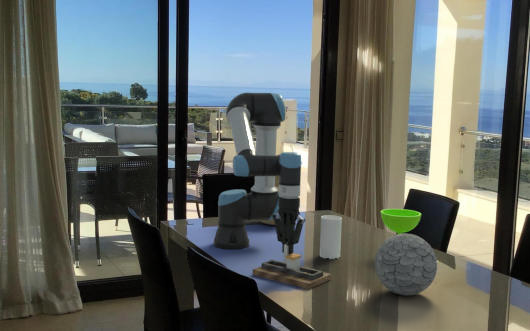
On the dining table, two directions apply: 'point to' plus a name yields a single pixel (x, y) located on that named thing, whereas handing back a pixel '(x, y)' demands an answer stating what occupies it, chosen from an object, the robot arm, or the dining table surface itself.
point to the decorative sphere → (406, 264)
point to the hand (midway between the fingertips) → (287, 262)
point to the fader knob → (293, 261)
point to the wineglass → (400, 219)
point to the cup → (330, 236)
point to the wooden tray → (291, 274)
